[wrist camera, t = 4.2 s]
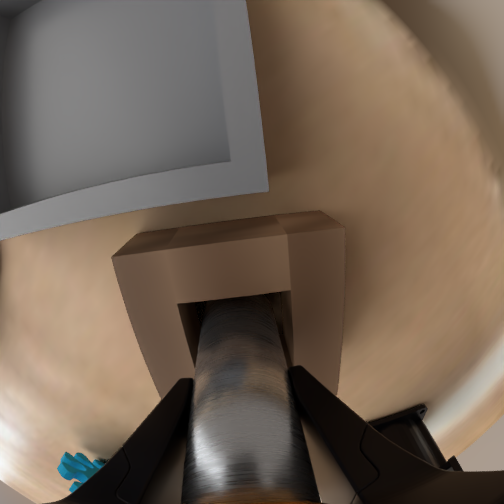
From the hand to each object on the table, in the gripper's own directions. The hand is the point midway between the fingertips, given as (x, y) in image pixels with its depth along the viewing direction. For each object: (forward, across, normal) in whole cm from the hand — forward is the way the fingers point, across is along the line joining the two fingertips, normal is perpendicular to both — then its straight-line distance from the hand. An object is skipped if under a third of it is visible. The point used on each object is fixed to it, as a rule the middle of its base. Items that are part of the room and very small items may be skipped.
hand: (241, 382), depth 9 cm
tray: (+5, +5, -12) cm, 14 cm away
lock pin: (+4, 0, 0) cm, 4 cm away
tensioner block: (+5, 0, 0) cm, 5 cm away
